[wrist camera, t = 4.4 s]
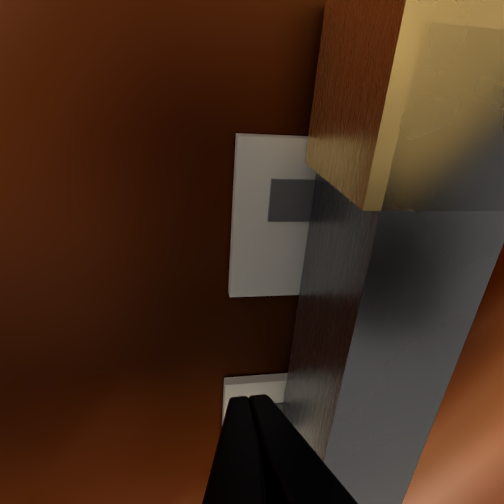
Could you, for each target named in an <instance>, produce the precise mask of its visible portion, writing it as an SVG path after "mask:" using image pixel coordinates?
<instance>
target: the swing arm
mask: <svg viewBox="0 0 504 504" xmlns="http://www.w3.org/2000/svg"><path fill="white" fill-rule="evenodd" d="M305 163H306V164H307V165H308V166H309V167H311V168H312V169H313V170H314V171H315V172H317V173H316V180H315V187H314V194H313V201H312V208H311V215H310V222H309V229H308V236H307V243H306V250H305V257H304V264H303V271H302V278H301V285H300V292H299V298H298V305H297V312H296V319H295V326H294V333H293V340H292V347H291V354H290V361H289V368H288V375H287V382H286V389H285V396H284V403H283V410H282V412H283V414H284V415H285V416H286V417H287V418H288V420H289V421H290V422H291V423H292V424H293V426H294V427H295V428H296V429H297V430H298V432H299V433H300V434H301V435H302V437H303V438H304V439H305V440H306V441H307V443H308V444H309V445H310V446H311V447H312V449H313V450H314V451H315V452H316V453H317V455H318V456H319V457H320V458H321V459H322V461H323V462H324V463H325V464H326V465H327V467H328V468H329V469H330V470H331V471H332V473H333V474H334V475H335V476H336V477H337V479H338V480H339V481H340V482H341V483H342V485H343V486H344V487H345V488H346V489H347V491H348V492H349V493H350V494H351V496H352V497H353V498H354V499H355V500H356V502H357V503H358V504H402V502H403V499H404V497H405V494H406V492H407V489H408V486H409V484H410V481H411V479H412V476H413V474H414V471H415V469H416V466H417V463H418V461H419V458H420V456H421V453H422V451H423V448H424V446H425V443H426V440H427V438H428V435H429V433H430V430H431V428H432V425H433V423H434V420H435V417H436V415H437V412H438V410H439V407H440V405H441V402H442V400H443V397H444V394H445V392H446V389H447V387H448V384H449V382H450V379H451V376H452V374H453V371H454V369H455V366H456V364H457V361H458V359H459V356H460V353H461V351H462V348H463V346H464V343H465V341H466V338H467V336H468V333H469V330H470V328H471V325H472V323H473V320H474V318H475V315H476V313H477V310H478V307H479V305H480V302H481V300H482V297H483V295H484V292H485V290H486V287H487V284H488V282H489V279H490V277H491V274H492V272H493V269H494V266H495V264H496V261H497V259H498V256H499V254H500V251H501V249H502V246H503V243H504V0H327V1H326V3H325V10H324V18H323V26H322V34H321V42H320V49H319V57H318V65H317V73H316V80H315V88H314V96H313V104H312V111H311V119H310V127H309V135H308V143H307V150H306V158H305Z"/></svg>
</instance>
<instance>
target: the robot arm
mask: <svg viewBox="0 0 504 504" xmlns="http://www.w3.org/2000/svg"><path fill="white" fill-rule="evenodd" d="M202 504H358V503H357V502H356V500H355V499H354V498H353V497H352V496H351V494H350V493H349V492H348V491H347V489H346V488H345V487H344V486H343V485H342V483H341V482H340V481H339V480H338V479H337V477H336V476H335V475H334V474H333V473H332V471H331V470H330V469H329V468H328V467H327V465H326V464H325V463H324V462H323V461H322V459H321V458H320V457H319V456H318V455H317V453H316V452H315V451H314V450H313V449H312V447H311V446H310V445H309V444H308V443H307V441H306V440H305V439H304V438H303V437H302V435H301V434H300V433H299V432H298V430H297V429H296V428H295V427H294V426H293V424H292V423H291V422H290V421H289V420H288V418H287V417H286V416H285V415H284V414H283V412H282V411H281V410H280V409H279V408H278V406H277V405H276V404H275V403H274V402H273V400H272V399H271V398H270V397H269V396H268V395H266V394H261V395H251V396H250V397H249V398H248V397H247V396H237V397H231V398H230V399H229V402H228V405H227V409H226V413H225V417H224V421H223V425H222V429H221V432H220V436H219V440H218V444H217V448H216V452H215V456H214V460H213V464H212V467H211V471H210V475H209V479H208V483H207V487H206V491H205V495H204V499H203V502H202Z"/></svg>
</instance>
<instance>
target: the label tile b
mask: <svg viewBox="0 0 504 504" xmlns="http://www.w3.org/2000/svg"><path fill="white" fill-rule="evenodd" d="M307 143H308V136H292V135H267V134H243V133H236V140H235V160H234V181H233V202H232V223H231V243H230V264H229V285H228V293H229V297H255V296H282V295H299V292H300V285H301V278H302V271H303V264H304V257H305V250H306V243H307V236H308V229H309V222H310V215H311V208H312V201H313V194H314V187H315V180H316V173H317V172H315V171H314V170H313V169H312V168H311V167H309V166H308V165H307V164H306V163H305V158H306V150H307Z"/></svg>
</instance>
